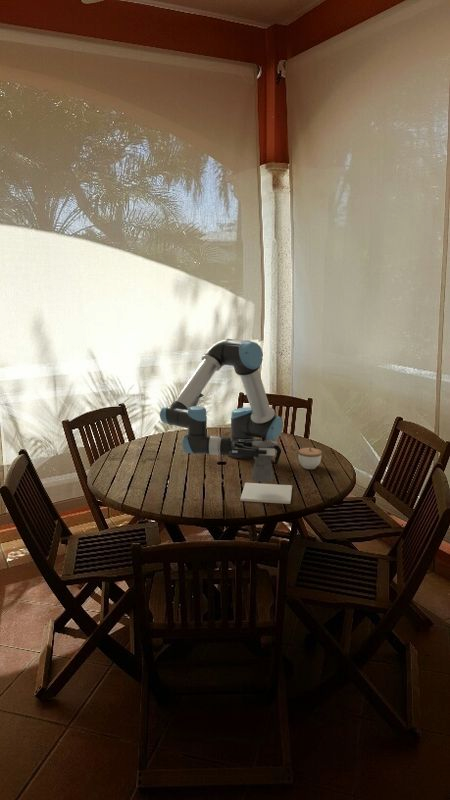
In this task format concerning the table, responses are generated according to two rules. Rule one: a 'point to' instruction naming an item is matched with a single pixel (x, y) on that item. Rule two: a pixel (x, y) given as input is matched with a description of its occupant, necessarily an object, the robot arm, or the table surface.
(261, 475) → the coffeepot
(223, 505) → the table surface
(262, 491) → the placemat
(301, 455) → the lidded jar
